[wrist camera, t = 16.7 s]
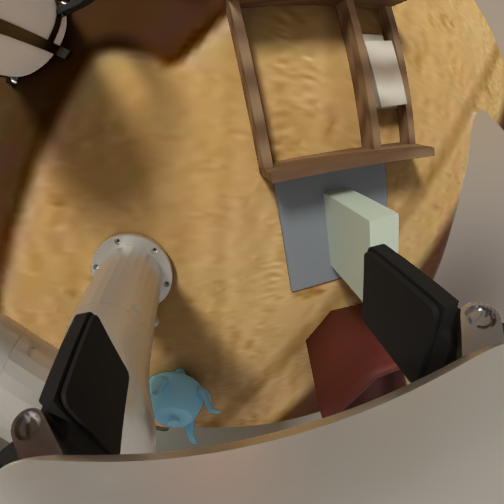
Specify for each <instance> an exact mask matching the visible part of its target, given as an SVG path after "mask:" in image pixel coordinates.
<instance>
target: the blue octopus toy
mask: <svg viewBox="0 0 504 504" xmlns="http://www.w3.org/2000/svg"><path fill="white" fill-rule="evenodd" d="M149 385H150V395H151V401H152V406H153V411H154V417H155V419H156V420H157V421H158V422H159V423H161V424H162V425H165V426H168V427H183V426H184V428H185V431H186V433H187V436H188V438H189V440H190V441H191V442H192V443H193V444H197V442H196V439H195V436H194V425H195V420H194V419H195V417H196V416H197V415H198V413H199V412H200V410H201V408H202V405H203V401H204V403H205V407H206V409H207V411H208V412H210V413H213V414H219V413H221V412H220V411H218V410H216V409H215V408H214V407H213V405H212V398H211V395H210V393H209V392H208V390H206V389H205V388H203V387H201V385H200V384H199V383H198V382H197V381H196V380H195V379H193V378H192V377H190V376H188V375H186V374H185V370H183V369H176V370H175V372H163V373H160V374H155V375H153V376H152V378H150V379H149Z"/></svg>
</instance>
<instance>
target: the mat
mask: <svg viewBox="0 0 504 504" xmlns="http://www.w3.org/2000/svg"><path fill="white" fill-rule="evenodd" d="M347 187H348V188H350V189H352V190H354V191H356V192H358V193H360V194H362V195H364V196H366V197H368V198H370V199H372V200H374V201H376V202H378V203H380V204H381V205H383V206H385V207H387V186H386V169H385V163H379V164H373V165H367V166H361V167H355V168H349V169H344V170H338V171H333V172H327V173H322V174H317V175H312V176H306V177H301V178H297V179H292V180H287V181H282V182H277V183H274V188H275V194H276V200H277V206H278V212H279V218H280V224H281V230H282V236H283V242H284V248H285V254H286V261H287V267H288V274H289V280H290V287H291V291H292V292H293V291H297V290H301V289H304V288H308V287H311V286H315V285H318V284H321V283H325V282H328V281H332V280H335V279H338V278H342V277H341V276H340V275H339V274H338V273H337V272H336V271H335V269H334V268H333V267H332V266H331V265H330V254H329V243H328V232H327V222H326V213H325V204H324V195H323V192H328V191H332V190H337V189H342V188H347Z"/></svg>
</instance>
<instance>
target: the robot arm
mask: <svg viewBox="0 0 504 504" xmlns="http://www.w3.org/2000/svg"><path fill="white" fill-rule="evenodd" d="M117 239H119V240H120V241H118V240H117ZM153 248H156V250H154V249H153ZM96 264H97V265H98V266H97V265H96ZM91 273H92V280H91V281H90V283H89V285H88V287H87V289H86V290H85V292H84V294H83V296H82V298H81V300H80V302H79V303H78V305H77V307H76V309H75V311H74V313H73V315H72V317H71V319H70V321H69V323H68V326H67V328H66V332H65V338H64V340H63V342H62V345H61V347H60V349H58V348H56V347H54V346H53V345H51V344H50V343H48V342H46V341H45V340H43V339H42V338H40V337H39V336H37V335H36V334H34V333H33V332H31V331H30V330H28V329H27V328H25V327H24V326H22V325H21V324H19V323H18V322H16V321H15V320H13V319H11V318H10V317H8V316H6V315H3V314H0V504H504V323H502V322H501V318H500V315H499V313H498V312H497V311H496V310H495V309H494V308H493V307H491V306H490V305H487V304H485V303H480V302H472V303H468V304H466V305H465V306H463V308H462V309H461V310H460V309H459V308H458V307H457V306H458V302H459V301H458V300H457V299H456V298H454V297H453V296H452V295H451V294H449V293H448V292H447V291H446V290H445V289H443V288H442V287H441V286H440V285H438V284H437V283H436V282H435V281H433V280H432V279H431V278H430V277H428V276H427V275H426V274H424V273H423V272H422V271H421V270H419V269H418V268H417V267H415V266H414V265H413V264H411V263H410V262H409V261H407V260H406V259H405V258H403V257H402V256H401V255H399V254H398V253H397V252H395V251H394V250H392V249H391V248H390V247H388V246H387V245H385V244H380V245H376V246H372V247H369V248H368V251H367V252H366V253H365V254H364V278H363V304H362V318H363V321H364V323H365V324H366V326H367V327H368V328H369V329H370V331H371V332H372V333H373V335H374V336H375V337H376V338H377V340H378V341H379V342H380V344H381V345H382V346H383V347H384V349H385V350H386V351H387V353H388V354H389V355H390V357H391V358H392V359H393V361H394V362H395V363H396V364H397V366H398V367H399V368H400V370H401V371H402V372H403V374H404V375H405V376H406V378H407V379H408V380H409V382H410V384H408V385H406V386H404V387H402V388H399V389H397V390H395V391H393V392H390V393H388V394H386V395H384V396H381V397H379V398H376V399H374V400H372V401H369V402H367V403H364V404H362V405H359V406H356V407H354V408H351V409H348V410H346V411H343V412H340V413H337V414H334V415H331V416H328V417H325V418H322V419H320V420H316V421H313V422H310V423H307V424H303V425H300V426H296V427H293V428H289V429H286V430H282V431H278V432H274V433H271V434H266V435H262V436H258V437H254V438H249V439H244V440H239V441H234V442H229V443H224V444H218V445H212V446H206V447H199V448H192V449H184V450H176V451H166V452H155V449H156V424H155V417H154V411H153V406H152V401H151V395H150V385H149V372H150V359H151V350H152V344H153V336H154V329H155V327H156V326H158V325H159V324H160V322H159V320H158V317H157V308H158V304H160V303H161V302H162V301H163V300H164V299H165V298H166V296H167V295H168V293H169V291H170V289H171V286H172V280H173V270H172V265H171V262H170V259H169V257H168V255H167V254H166V252H165V251H164V250H163V249H162V247H161V246H160V245H159V244H157V243H156V242H155V241H153V240H152V239H150V238H148V237H146V236H143V235H140V234H136V233H121V234H117V235H114V236H112V237H110V238H108V239H107V240H105V241H104V242H103V243H102V244H101V245H100V246H99V248H98V249H97V251H96V252H95V254H94V257H93V259H92V264H91Z"/></svg>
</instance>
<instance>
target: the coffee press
mask: <svg viewBox="0 0 504 504" xmlns="http://www.w3.org/2000/svg"><path fill="white" fill-rule="evenodd" d="M58 1H62V2H61V3H59V2H58ZM69 1H70V0H0V77H5V78H6V82H7V83H8V84H9V85H11V86H14V85H16V83H17V82H18V79H19V77H21V76H26V75H29V74H31V73H33V72H35V71H36V70H38V69H39V68H41V67H42V66H43V65H45V64H46V63H47V62H48V61H49V60H50V59H51V57H52V56H53V55H54V54H55V55H57V56H59V57H61V58H63V59H66V60H67V59H68V57H69V56H70V54H71V53H72V52H71V51H69V50H67V49H65V48H63V47H61V46H60V44H61V42H62V40H63V38H64V35H65V31H66V25H67V18H66V15H68V14H70V13H72V12H75V11H77V10H79V9H81V8H83V7H85V6H87V5H89V4H90V3H92V2H93V1H94V0H73V1H71V2H69ZM8 76H13V78H12V80H11V79H10V78H9V77H8Z"/></svg>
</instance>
